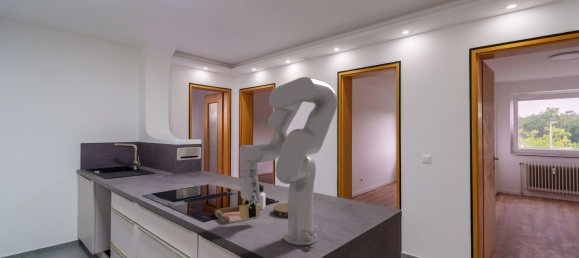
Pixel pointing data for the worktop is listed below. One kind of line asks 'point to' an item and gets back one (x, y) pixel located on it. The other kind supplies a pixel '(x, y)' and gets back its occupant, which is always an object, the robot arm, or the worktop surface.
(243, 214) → the mustard block
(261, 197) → the medicine bottle
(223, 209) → the tray
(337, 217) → the worktop surface
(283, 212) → the tan flat round disc
